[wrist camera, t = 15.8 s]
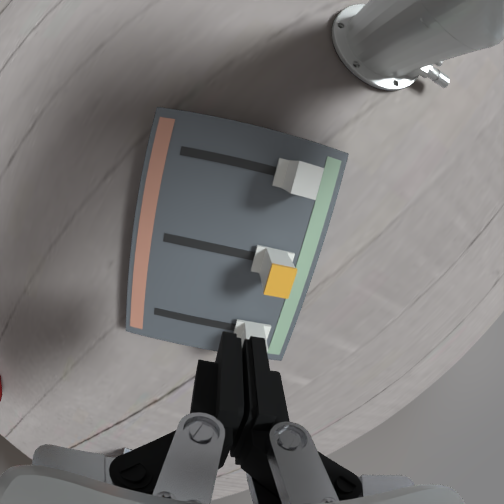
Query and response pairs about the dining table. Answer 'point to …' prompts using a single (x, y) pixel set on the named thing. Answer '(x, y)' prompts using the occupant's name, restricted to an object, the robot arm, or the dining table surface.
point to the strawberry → (0, 389)
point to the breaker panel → (221, 229)
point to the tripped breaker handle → (275, 270)
